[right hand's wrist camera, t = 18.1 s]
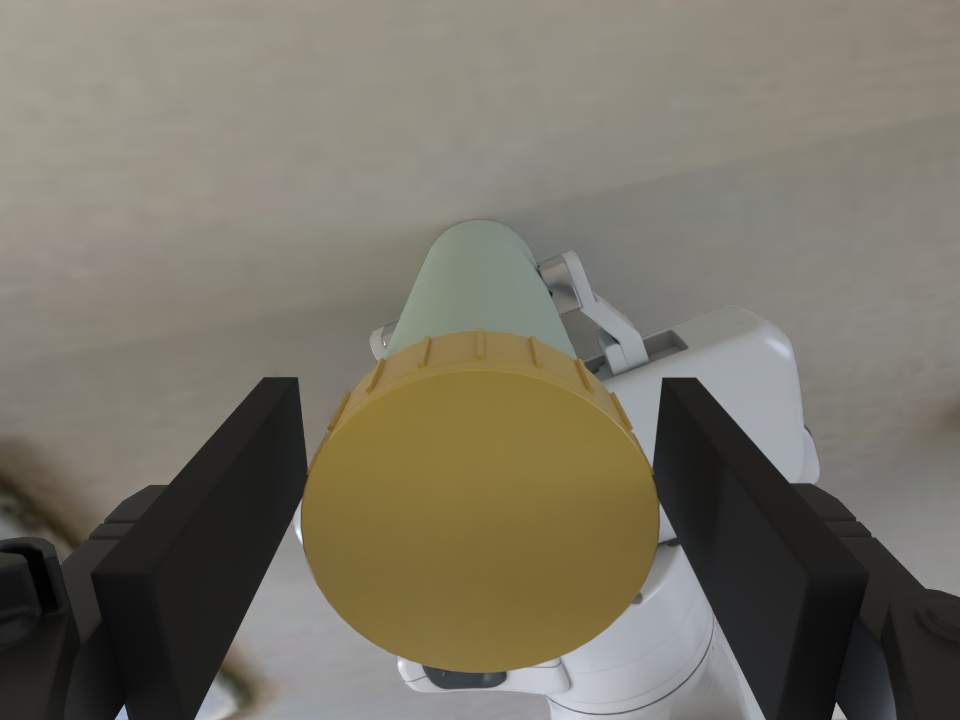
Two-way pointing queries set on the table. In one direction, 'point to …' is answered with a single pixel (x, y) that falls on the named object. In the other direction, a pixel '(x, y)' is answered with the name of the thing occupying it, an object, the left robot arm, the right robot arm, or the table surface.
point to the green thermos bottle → (479, 290)
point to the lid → (480, 504)
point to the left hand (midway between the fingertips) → (469, 294)
